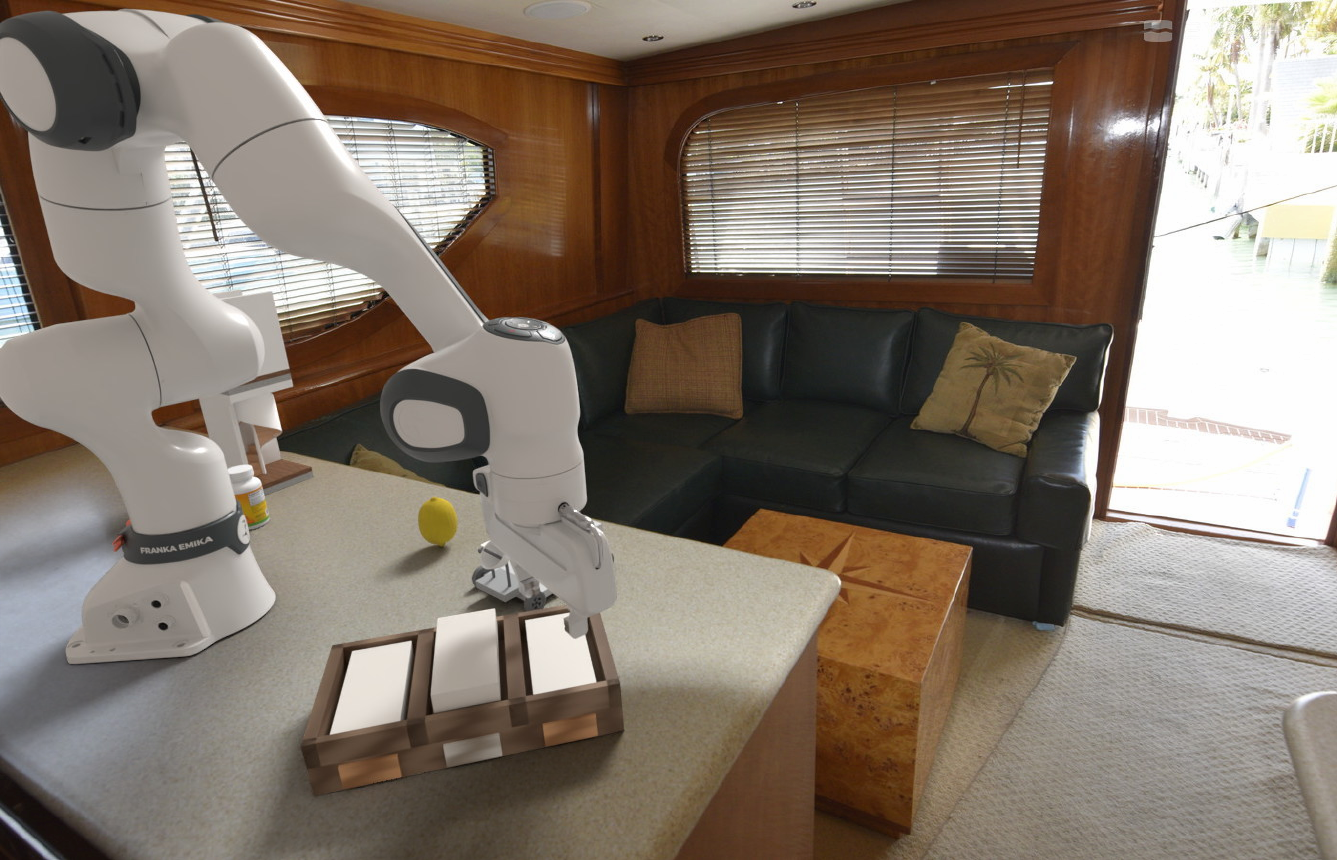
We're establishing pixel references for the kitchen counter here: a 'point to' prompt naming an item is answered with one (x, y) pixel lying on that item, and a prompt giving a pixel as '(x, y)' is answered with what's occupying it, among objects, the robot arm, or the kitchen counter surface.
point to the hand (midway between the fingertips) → (552, 612)
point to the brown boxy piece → (459, 712)
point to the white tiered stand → (255, 403)
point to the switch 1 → (375, 687)
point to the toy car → (506, 577)
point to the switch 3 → (557, 655)
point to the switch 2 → (466, 661)
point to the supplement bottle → (249, 495)
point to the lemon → (437, 521)
